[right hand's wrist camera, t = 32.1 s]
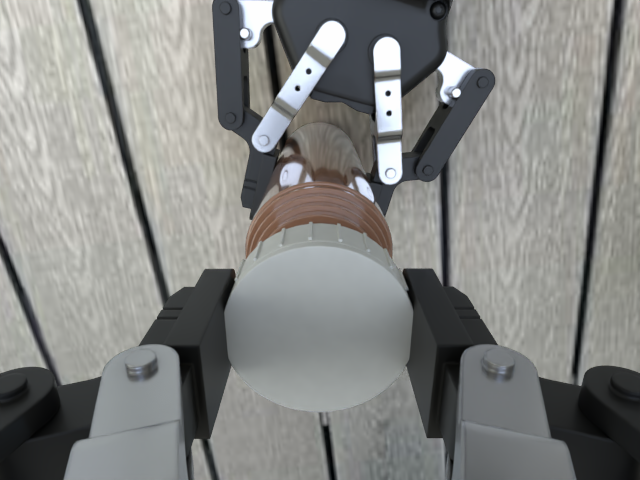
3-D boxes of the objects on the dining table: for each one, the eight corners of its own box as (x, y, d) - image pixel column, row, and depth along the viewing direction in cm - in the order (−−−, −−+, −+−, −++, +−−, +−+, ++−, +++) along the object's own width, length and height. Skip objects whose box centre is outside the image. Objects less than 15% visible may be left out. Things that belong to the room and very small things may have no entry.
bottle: (288, 200, 31) (242, 405, 12) (276, 127, 30) (199, 237, 11) (359, 190, 31) (423, 384, 12) (351, 116, 29) (410, 210, 10)
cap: (419, 357, 13) (432, 395, 11) (259, 389, 13) (252, 429, 12) (389, 202, 11) (400, 223, 10) (207, 243, 11) (191, 270, 10)
